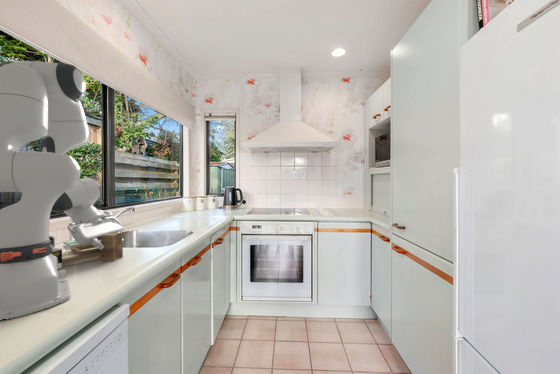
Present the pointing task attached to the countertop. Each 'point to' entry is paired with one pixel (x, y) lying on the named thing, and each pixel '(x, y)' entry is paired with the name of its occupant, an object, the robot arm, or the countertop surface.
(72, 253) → the puzzle board
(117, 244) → the block
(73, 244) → the cover
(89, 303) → the countertop surface
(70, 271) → the countertop surface
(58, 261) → the medicine bottle
